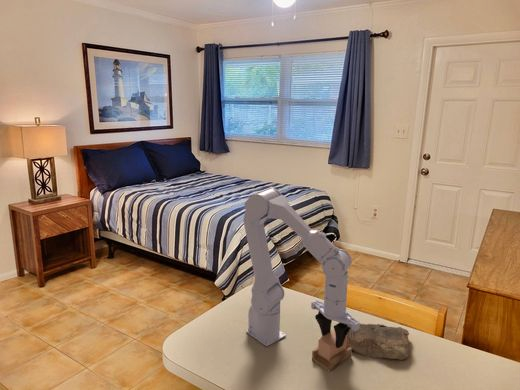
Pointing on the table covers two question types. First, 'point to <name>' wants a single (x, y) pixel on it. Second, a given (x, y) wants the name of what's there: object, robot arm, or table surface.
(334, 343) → the clay bar
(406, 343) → the rough brown rock
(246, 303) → the table surface
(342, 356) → the rack
